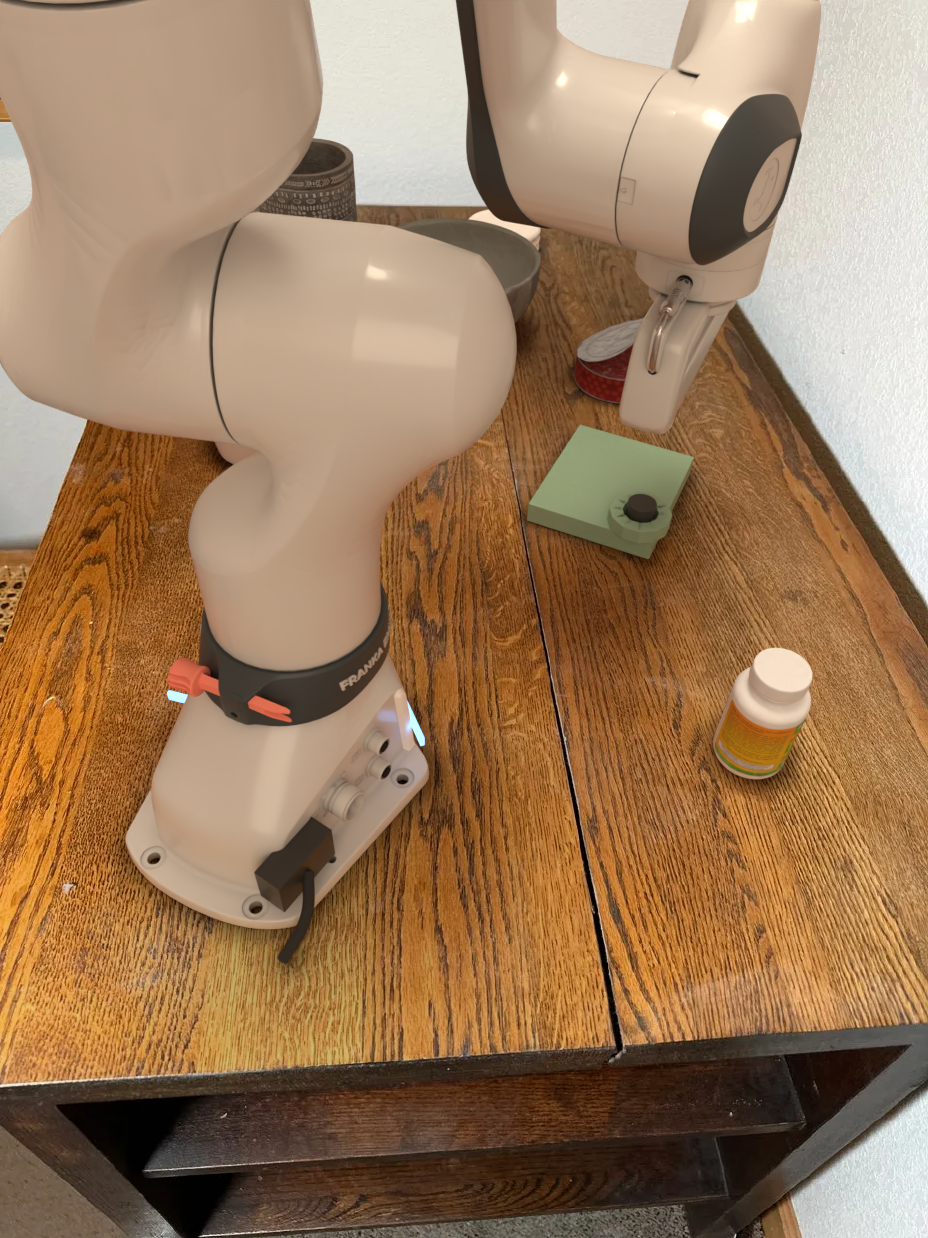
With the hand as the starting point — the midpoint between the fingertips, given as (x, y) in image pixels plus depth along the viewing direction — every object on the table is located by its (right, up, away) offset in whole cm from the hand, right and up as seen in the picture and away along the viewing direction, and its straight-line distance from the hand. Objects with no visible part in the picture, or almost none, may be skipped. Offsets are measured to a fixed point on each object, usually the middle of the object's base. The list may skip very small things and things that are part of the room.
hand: (664, 419), depth 75 cm
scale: (-2, -4, +16) cm, 16 cm away
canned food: (+1, +11, +30) cm, 32 cm away
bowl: (-18, +18, +35) cm, 44 cm away
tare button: (0, -7, +9) cm, 11 cm away
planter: (-36, +31, +48) cm, 67 cm away
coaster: (-11, +34, +51) cm, 62 cm away
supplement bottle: (+5, -26, -4) cm, 27 cm away
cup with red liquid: (-37, +1, +19) cm, 42 cm away
